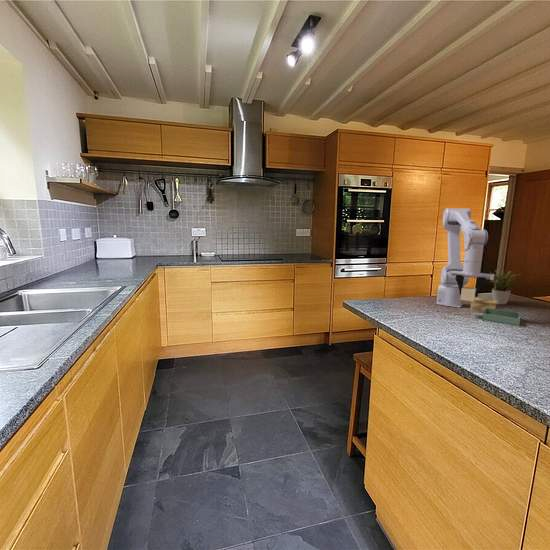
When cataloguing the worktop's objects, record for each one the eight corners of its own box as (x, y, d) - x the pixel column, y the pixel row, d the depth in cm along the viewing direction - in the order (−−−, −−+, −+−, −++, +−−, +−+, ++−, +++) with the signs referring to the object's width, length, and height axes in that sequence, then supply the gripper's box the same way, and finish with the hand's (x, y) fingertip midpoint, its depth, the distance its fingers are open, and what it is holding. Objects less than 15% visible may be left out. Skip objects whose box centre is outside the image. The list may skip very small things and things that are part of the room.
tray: (482, 319, 114) (483, 313, 113) (484, 313, 122) (485, 307, 122) (519, 326, 107) (520, 319, 107) (518, 318, 116) (519, 312, 115)
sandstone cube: (460, 299, 117) (461, 288, 116) (462, 297, 120) (463, 286, 120) (473, 301, 114) (475, 290, 113) (475, 299, 118) (476, 288, 117)
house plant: (516, 301, 144) (521, 267, 141) (526, 308, 131) (531, 271, 129) (481, 298, 150) (485, 265, 147) (487, 304, 137) (492, 269, 134)
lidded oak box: (469, 310, 126) (470, 299, 125) (470, 307, 131) (472, 296, 130) (495, 314, 121) (496, 303, 120) (496, 311, 125) (497, 300, 124)
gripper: (449, 260, 116) (445, 294, 119) (495, 263, 107) (490, 300, 110) (452, 259, 122) (448, 291, 124) (496, 262, 113) (491, 297, 115)
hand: (468, 295), depth 117 cm, fingers closed on sandstone cube, 4 cm apart
